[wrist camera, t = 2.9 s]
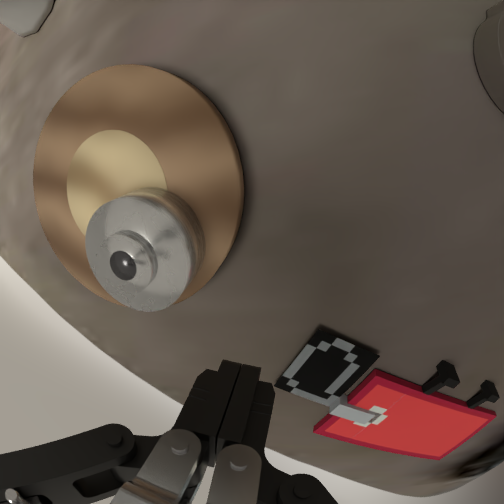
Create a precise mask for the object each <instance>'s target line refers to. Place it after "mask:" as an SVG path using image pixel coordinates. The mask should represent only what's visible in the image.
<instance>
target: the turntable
mask: <svg viewBox="0 0 504 504" xmlns="http://www.w3.org/2000/svg"><path fill="white" fill-rule="evenodd" d="M33 186H34V195H35V202H36V207H37V212H38V215H39V219H40V222H41V225H42V228H43V230H44V233H45V235H46V237H47V239H48V241H49V243H50V245H51V247H52V249H53V251H54V252H55V254H56V255H57V257H58V258H59V260H60V261H61V262H62V264H63V265H64V266H65V268H66V269H67V270H68V271H69V272H70V273H71V274H72V275H73V276H74V277H75V278H76V279H77V280H78V281H79V282H80V283H81V284H83V285H84V286H85V287H86V288H87V289H89V290H90V291H92V292H93V293H95V294H96V295H98V296H100V297H102V298H104V299H106V300H108V301H110V302H113V303H115V304H118V305H122V306H125V305H123V304H122V303H120V302H119V301H117V300H116V299H114V298H113V297H112V296H111V295H110V294H109V293H108V292H107V291H106V290H105V289H104V288H103V287H102V286H101V284H100V283H99V282H98V280H97V279H96V277H95V275H94V273H93V271H92V269H91V267H90V264H89V262H88V258H87V254H86V247H85V237H86V230H87V226H88V223H89V221H90V219H91V217H92V215H93V214H94V213H95V211H96V210H97V209H98V208H99V207H101V206H102V205H103V204H105V203H107V202H109V201H111V200H114V199H116V198H118V197H121V196H123V195H125V194H127V193H130V192H132V191H134V190H137V189H140V188H145V187H157V188H162V189H165V190H168V191H170V192H172V193H174V194H176V195H177V196H179V197H180V198H182V199H183V200H184V201H185V202H186V203H187V204H188V205H189V206H190V207H191V208H192V210H193V211H194V213H195V214H196V215H197V217H198V219H199V221H200V223H201V226H202V228H203V232H204V236H205V248H206V250H205V257H204V261H203V264H202V266H201V268H200V270H199V271H198V273H197V274H196V276H195V277H194V278H193V279H192V281H191V282H190V283H189V285H188V286H187V287H186V289H185V290H184V291H183V293H182V294H181V295H180V297H179V298H178V299H177V300H176V301H175V302H174V303H173V304H176V303H179V302H181V301H183V300H185V299H187V298H188V297H190V296H192V295H193V294H195V293H196V292H197V291H198V290H200V289H201V288H202V287H203V286H204V285H205V284H206V283H207V282H208V281H209V280H210V279H211V278H212V277H213V275H214V274H215V272H216V271H217V269H218V268H219V267H220V265H221V264H222V262H223V261H224V259H225V258H226V256H227V255H228V253H229V251H230V249H231V247H232V245H233V243H234V241H235V238H236V235H237V232H238V229H239V226H240V222H241V217H242V211H243V203H244V181H243V170H242V165H241V161H240V156H239V152H238V149H237V146H236V143H235V141H234V138H233V135H232V133H231V131H230V129H229V127H228V125H227V123H226V122H225V120H224V118H223V117H222V115H221V114H220V112H219V111H218V110H217V108H216V107H215V105H214V104H213V103H212V102H211V101H210V100H209V99H208V98H207V97H206V96H205V95H204V94H203V93H202V92H201V91H200V90H199V89H197V88H196V87H195V86H193V85H192V84H191V83H189V82H188V81H186V80H184V79H182V78H180V77H178V76H176V75H174V74H171V73H168V72H165V71H162V70H159V69H156V68H152V67H149V66H143V65H135V64H128V65H116V66H111V67H107V68H104V69H101V70H98V71H96V72H93V73H91V74H90V75H88V76H86V77H84V78H83V79H81V80H80V81H78V82H77V83H76V84H74V85H73V86H72V87H71V88H70V89H69V90H68V91H67V92H66V93H65V94H64V95H63V96H62V97H61V98H60V99H59V101H58V102H57V103H56V105H55V106H54V108H53V109H52V111H51V113H50V114H49V116H48V118H47V120H46V122H45V124H44V126H43V129H42V131H41V134H40V137H39V141H38V144H37V148H36V153H35V159H34V170H33ZM173 304H172V305H173ZM170 306H171V305H170ZM126 307H128V306H126Z"/></svg>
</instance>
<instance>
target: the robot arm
mask: <svg viewBox="0 0 504 504" xmlns="http://www.w3.org/2000/svg"><path fill="white" fill-rule="evenodd" d="M474 56H475V62H476V66H477V69H478V72H479V76H480V78H481V80H482V82H483V85H484V87H485V89H486V90H487V92H488V94H489V95H490V97H491V99H492V100H493V101H494V102H495V104H496V105H497V106H498V108H499V109H500V110H501V111H502V112H503V113H504V0H503V1H502V2H500V3H498V4H497V5H495V6H493V7H491V8H490V9H488V10H487V19H486V21H484V22H483V23H482V24H481V25H480V26H479V28H478V30H477V31H476V34H475V39H474ZM260 372H261V368H260V367H255V366H250V365H246V364H243V365H242V364H241V363H236V362H232V361H228V360H222V362H221V365H220V367H219V370H218V372H217V371H213V370H209V369H206V370H205V371H204V372H203V373H201V374H200V375H199V376H198V377H197V379H196V381H195V383H194V385H193V388H192V389H191V391H190V393H189V396H188V397H187V400H186V402H185V404H184V406H183V408H182V410H181V412H180V414H179V416H178V418H177V420H176V423H175V424H174V426H173V428H172V429H171V430H170V431H167V432H166V433H164V434H163V435H159V436H139V435H133V434H132V432H131V431H130V430H129V429H128V428H127V427H125V426H123V425H120V424H108V425H104V426H101V427H98V428H95V429H92V430H89V431H86V432H83V433H80V434H77V435H74V436H70V437H67V438H64V439H61V440H57V441H53V442H50V443H46V444H42V445H39V446H35V447H31V448H27V449H23V450H19V451H14V452H10V453H5V454H0V504H90V503H93V502H97V501H99V500H103V499H105V498H108V497H111V496H114V495H115V496H114V498H113V500H112V501H111V503H110V504H191V503H192V501H193V499H194V497H195V495H196V493H197V491H198V489H199V486H200V484H201V482H202V478H203V476H204V473H205V471H206V468H207V466H210V467H214V465H215V463H216V466H215V470H214V474H213V478H212V482H211V486H210V491H209V495H208V499H207V503H206V504H338V503H337V502H336V500H335V499H334V498H333V497H332V496H331V494H330V493H329V492H328V491H327V490H326V488H325V487H324V486H323V485H322V483H321V482H320V481H319V480H318V479H317V478H315V477H313V476H311V475H307V474H295V475H292V476H291V475H289V474H287V473H284V472H282V471H280V470H278V469H276V468H274V467H273V466H272V465H271V464H270V463H269V462H268V460H267V459H266V457H265V453H264V448H265V443H266V438H267V433H268V428H269V424H270V419H271V414H272V408H273V403H274V398H275V392H274V389H273V386H272V383H268V382H263V381H259V377H260Z"/></svg>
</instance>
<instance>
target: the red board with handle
mask: <svg viewBox="0 0 504 504" xmlns="http://www.w3.org/2000/svg"><path fill="white" fill-rule="evenodd" d="M379 357H380V356H379V355H377V354H374V353H372V352H369V351H367V350H365V349H362V348H360V347H358V346H355V345H353V344H351V343H349V342H346V341H344V340H342V339H339V338H337V337H335V336H333V335H330V334H328V333H326V332H324V331H321V330H319V329H318V330H317V332H316V333H315V334H314V336H313V337H312V338H311V340H310V341H309V342H308V344H307V345H306V346H305V347H304V349H303V350H302V351H301V353H300V354H299V355H298V356H297V358H296V359H295V360H294V362H293V363H292V364H291V365H290V367H289V368H288V369H287V370H286V372H285V373H284V374H283V375H282V376H281V378H280V379H279V380H278V381H277V382H276V384H275V385H274V386H275V387H277V388H280V389H282V390H285V391H288V392H290V393H293V394H295V395H298V396H301V397H303V398H306V399H309V400H312V401H314V402H317V403H320V404H323V405H326V406H329V407H330V408H329V413H328V414H327V415H326V416H325V417H324V418H323V419H322V420H321V421H319V422H318V423H317V424H316V425H315V426H314V430H313V433H317V434H320V435H323V436H327V437H330V438H334V439H337V440H341V441H345V442H349V443H352V444H356V445H360V446H365V447H369V448H373V449H378V450H382V451H387V452H392V453H397V454H402V455H408V456H414V457H420V458H427V459H434V460H440V459H441V458H443V457H444V456H446V455H447V454H449V453H450V452H452V451H453V450H454V449H456V448H457V447H459V446H460V445H461V444H463V443H464V442H465V441H467V440H468V439H469V438H471V437H472V436H473V435H475V434H476V433H477V432H478V431H480V430H481V429H482V428H483V427H485V426H486V425H487V424H488V423H489V422H490V421H492V420H493V419H494V418H495V417H496V416H497V415H496V413H495V412H494V411H491V410H488V409H485V408H482V407H479V406H478V405H480V404H482V403H484V402H485V401H490V402H493V403H495V402H496V401H497V400H498V399H499V398H500V397H499V395H498V392H497V390H496V388H495V385H494V383H492V382H490V381H487V380H485V381H484V382H483V383H482V384H481V385H480V386H481V388H482V391H483V392H482V393H480V394H479V395H477V396H475V397H474V398H472V399H470V400H468V401H467V402H465V401H462V400H459V399H456V398H453V397H450V396H447V395H444V394H441V393H439V392H436V391H437V390H439V389H440V388H442V387H444V386H445V385H446V386H448V387H451V388H455V387H456V386H457V385H458V384H459V383H460V381H459V378H458V375H457V373H456V370H455V368H454V365H452V364H450V363H448V362H446V361H443V360H442V361H441V362H440V363H439V364H438V365H437V366H436V367H437V370H438V373H439V376H437V377H436V378H434V379H433V380H431V381H429V382H428V383H426V384H425V385H423V386H419V385H416V384H414V383H411V382H408V381H406V380H403V379H400V378H398V377H395V376H392V375H390V374H387V373H385V372H382V371H380V370H377V369H374V370H373V371H372V372H371V373H370V374H369V375H368V377H367V378H366V379H365V380H364V381H363V382H362V383H361V384H359V385H358V386H357V387H356V388H355V389H354V390H353V391H352V392H351V393H350V394H349V395H348V396H346V395H344V393H345V392H346V391H347V390H348V389H349V388H350V387H351V386H352V385H353V384H354V383H355V382H356V381H357V380H358V379H359V378H360V377H361V376H362V375H363V374H364V373H365V372H366V371H367V370H368V369H369V367H370V366H371V365H372V364H373V363H374V362H375V361H376V360H377V359H378V358H379ZM375 412H376V413H375Z"/></svg>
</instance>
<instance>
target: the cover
mask: <svg viewBox="0 0 504 504" xmlns="http://www.w3.org/2000/svg"><path fill="white" fill-rule="evenodd" d="M85 247H86V254H87V258H88V262H89V264H90V267H91V269H92V271H93V273H94V275H95V277H96V279H97V280H98V282H99V283H100V284H101V286H102V287H103V288H104V289H105V290H106V291H107V292H108V293H109V294H110V295H111V296H112V297H113V298H114V299H116V300H117V301H119V302H120V303H122V304H123V305H125V306H128V307H130V308H133V309H135V310H140V311H147V312H150V311H159V310H162V309H165V308H167V307H169V306H170V305H172V304H173V303H174V302H175V301H176V300H177V299H178V298H179V297H180V295H181V294H182V293H183V291H184V290H185V289H186V287H187V286H188V285H189V283H190V282H191V281H192V279H193V278H194V277H195V276H196V274H197V273H198V271H199V270H200V268H201V266H202V264H203V261H204V257H205V250H206V248H205V236H204V232H203V228H202V226H201V223H200V221H199V219H198V217H197V215H196V214H195V213H194V211H193V210H192V208H191V207H190V206H189V205H188V204H187V203H186V202H185V201H184V200H183V199H182V198H180V197H179V196H177V195H176V194H174V193H172V192H170V191H168V190H165V189H162V188H157V187H145V188H140V189H137V190H134V191H132V192H130V193H127V194H125V195H123V196H121V197H118V198H116V199H114V200H111V201H109V202H107V203H105V204H103V205H102V206H101V207H99V208H98V209H97V210H96V211H95V213H94V214H93V215H92V217H91V219H90V221H89V223H88V226H87V230H86V237H85Z"/></svg>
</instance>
